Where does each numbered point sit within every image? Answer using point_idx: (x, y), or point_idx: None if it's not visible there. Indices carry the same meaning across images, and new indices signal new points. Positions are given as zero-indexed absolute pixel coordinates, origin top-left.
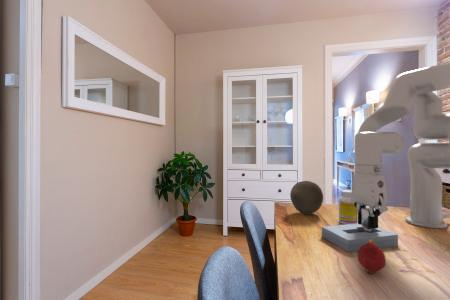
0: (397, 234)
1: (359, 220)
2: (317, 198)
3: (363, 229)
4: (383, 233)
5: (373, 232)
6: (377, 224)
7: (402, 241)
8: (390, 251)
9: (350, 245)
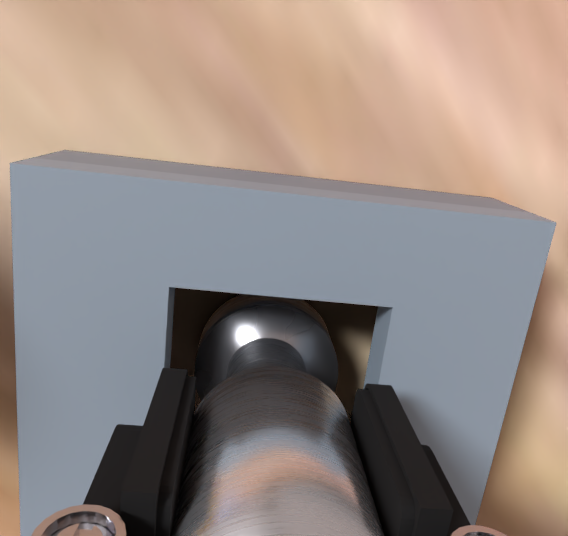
0: (550, 222)
1: None
2: None
3: (170, 350)
4: (446, 351)
5: None
6: (432, 463)
7: (447, 17)
8: (528, 381)
9: None
